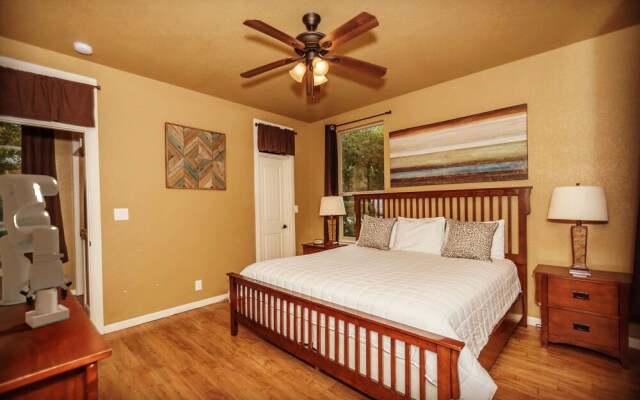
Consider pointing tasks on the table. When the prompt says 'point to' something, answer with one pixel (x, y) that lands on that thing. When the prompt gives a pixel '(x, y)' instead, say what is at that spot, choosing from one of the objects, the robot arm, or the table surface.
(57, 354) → the table surface
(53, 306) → the can
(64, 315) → the dock socket
